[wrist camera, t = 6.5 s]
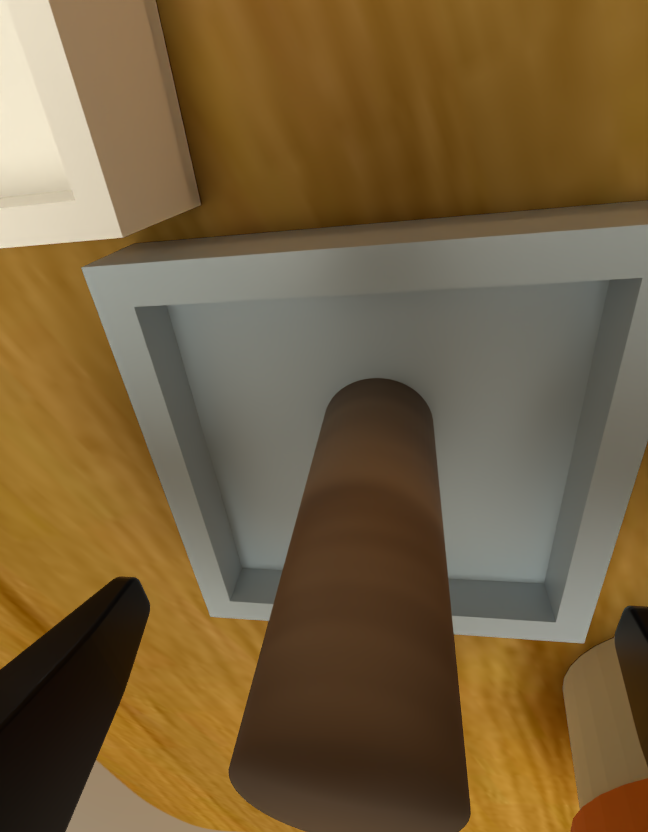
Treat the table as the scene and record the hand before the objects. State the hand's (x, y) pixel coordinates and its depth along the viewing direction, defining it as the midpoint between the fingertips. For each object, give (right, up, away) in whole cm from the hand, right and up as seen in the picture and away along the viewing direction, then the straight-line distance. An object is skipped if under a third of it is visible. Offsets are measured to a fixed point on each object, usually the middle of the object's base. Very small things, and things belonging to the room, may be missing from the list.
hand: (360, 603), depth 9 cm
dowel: (+1, +3, +5) cm, 6 cm away
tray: (+1, +3, +6) cm, 7 cm away
